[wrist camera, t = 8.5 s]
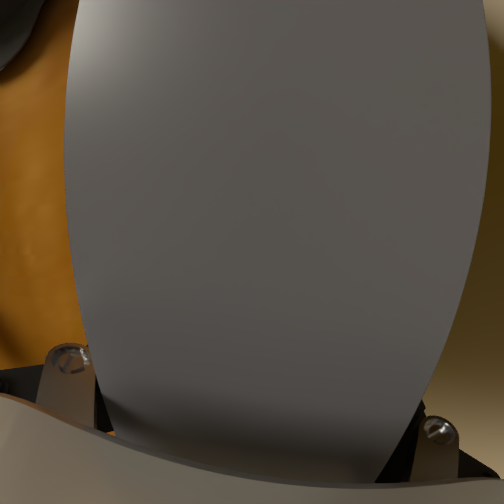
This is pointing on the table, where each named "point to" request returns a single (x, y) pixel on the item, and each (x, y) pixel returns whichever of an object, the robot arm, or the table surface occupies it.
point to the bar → (273, 219)
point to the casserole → (16, 26)
